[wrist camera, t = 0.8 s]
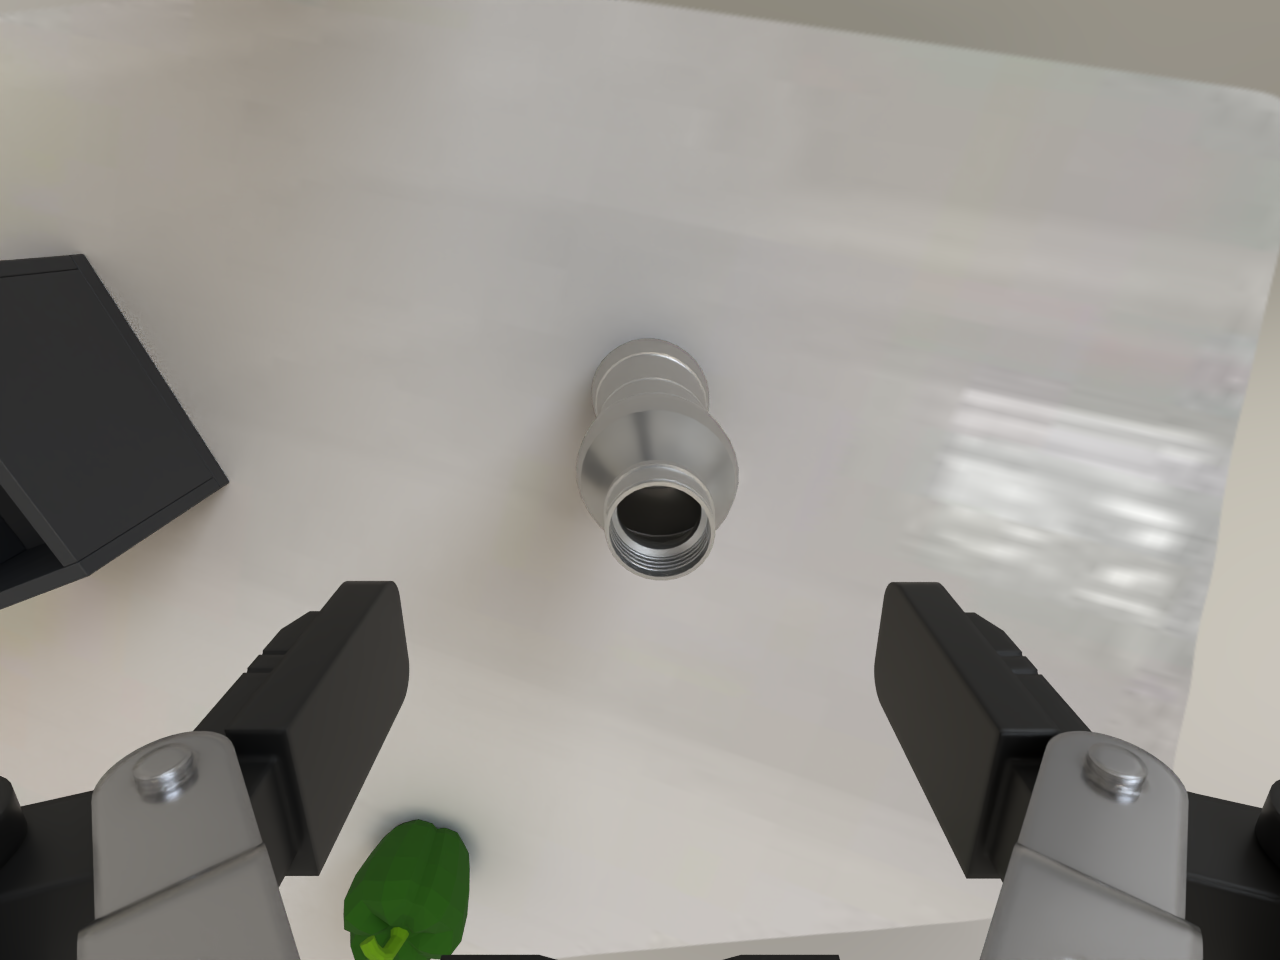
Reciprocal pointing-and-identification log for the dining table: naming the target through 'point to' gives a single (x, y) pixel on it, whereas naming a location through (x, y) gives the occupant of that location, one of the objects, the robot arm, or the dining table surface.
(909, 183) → the dining table surface
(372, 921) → the bell pepper
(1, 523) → the trash bin
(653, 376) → the plastic bottle
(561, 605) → the dining table surface
